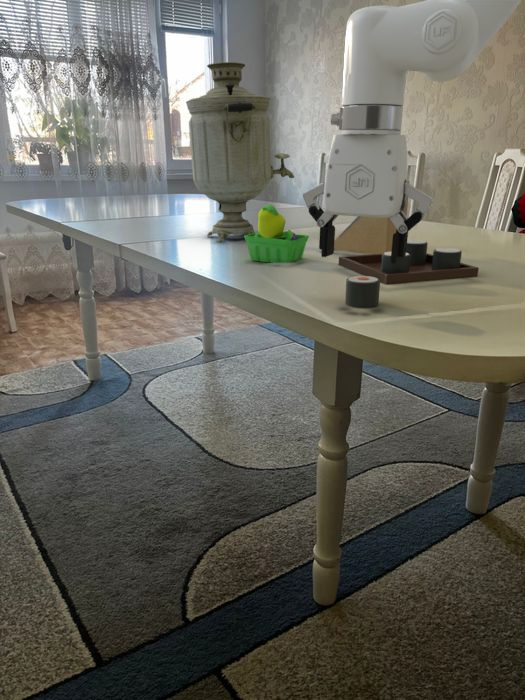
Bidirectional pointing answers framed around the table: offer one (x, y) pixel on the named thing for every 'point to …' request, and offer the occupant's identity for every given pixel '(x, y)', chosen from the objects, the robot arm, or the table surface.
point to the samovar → (231, 147)
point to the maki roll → (362, 291)
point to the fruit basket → (274, 239)
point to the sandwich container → (368, 235)
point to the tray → (372, 268)
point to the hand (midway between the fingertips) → (360, 258)
